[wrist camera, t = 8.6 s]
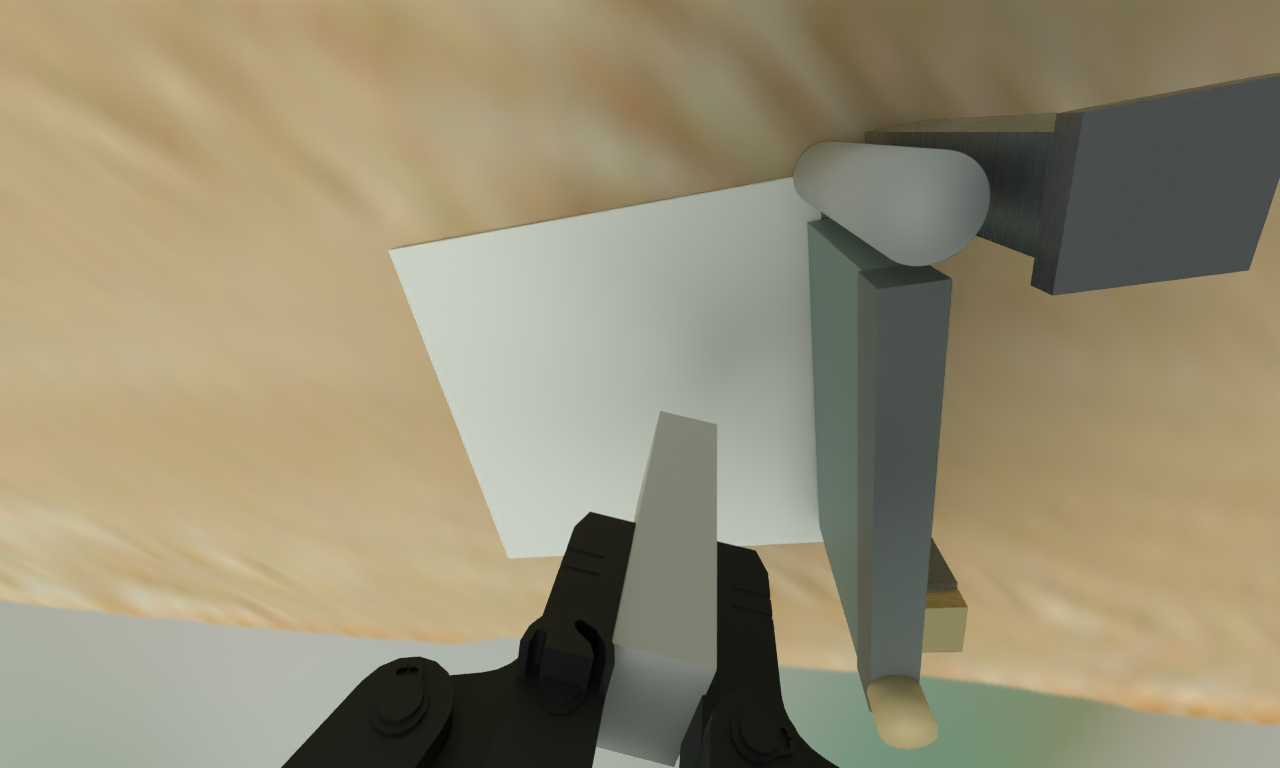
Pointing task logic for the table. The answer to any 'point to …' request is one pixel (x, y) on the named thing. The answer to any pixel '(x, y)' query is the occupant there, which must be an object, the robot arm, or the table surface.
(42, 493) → the table surface
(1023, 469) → the table surface
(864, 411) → the gate
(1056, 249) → the hinge post
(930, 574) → the post
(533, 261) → the mat
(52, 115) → the table surface
